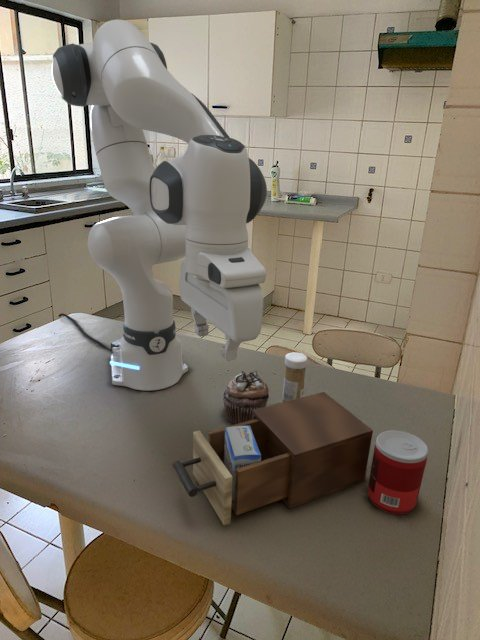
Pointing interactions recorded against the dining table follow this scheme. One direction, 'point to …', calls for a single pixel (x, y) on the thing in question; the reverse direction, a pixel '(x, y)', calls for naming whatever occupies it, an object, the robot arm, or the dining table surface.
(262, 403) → the cupcake
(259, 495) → the drawer
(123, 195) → the robot arm
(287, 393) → the sprinkles bottle
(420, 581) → the dining table surface
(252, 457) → the medicine box
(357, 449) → the cabinet
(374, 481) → the canned food
